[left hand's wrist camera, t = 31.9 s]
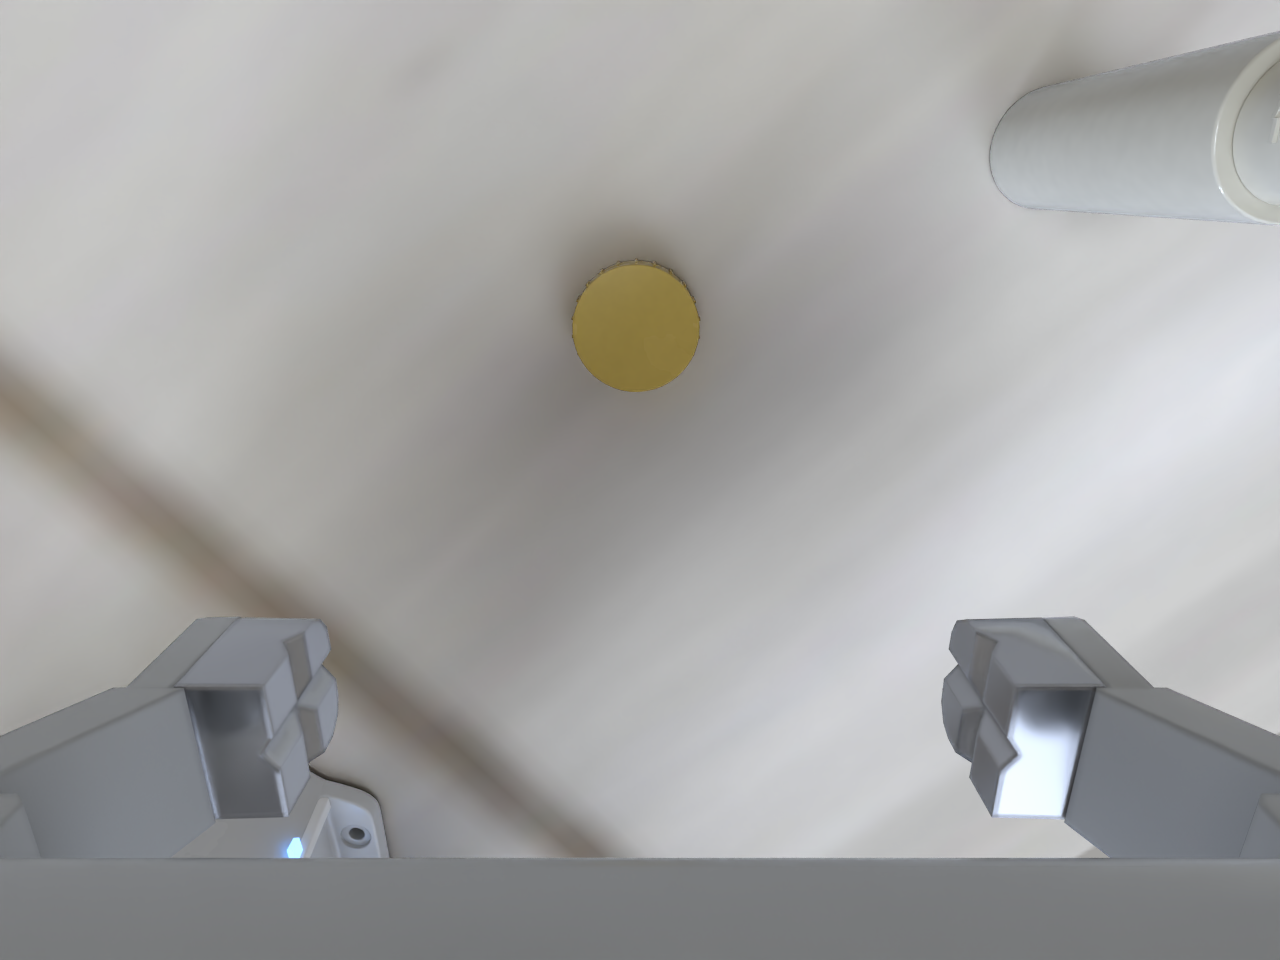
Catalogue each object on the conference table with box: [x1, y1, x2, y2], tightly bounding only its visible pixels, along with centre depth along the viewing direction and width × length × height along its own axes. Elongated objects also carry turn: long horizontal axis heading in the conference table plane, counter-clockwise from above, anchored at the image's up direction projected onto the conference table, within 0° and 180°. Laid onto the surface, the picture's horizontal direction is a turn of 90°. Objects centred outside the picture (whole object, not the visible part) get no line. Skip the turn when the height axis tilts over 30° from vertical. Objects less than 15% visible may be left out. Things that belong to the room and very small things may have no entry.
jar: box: [990, 31, 1280, 225], centre depth 26 cm, size 5×5×16 cm
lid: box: [572, 259, 700, 392], centre depth 35 cm, size 6×6×2 cm
